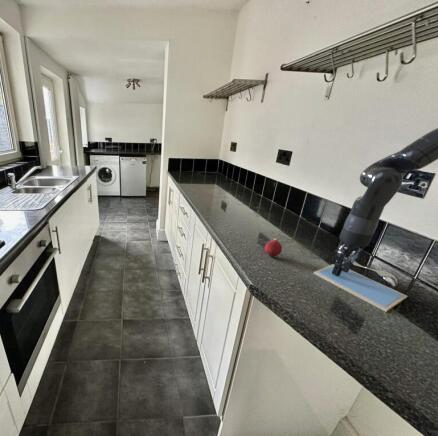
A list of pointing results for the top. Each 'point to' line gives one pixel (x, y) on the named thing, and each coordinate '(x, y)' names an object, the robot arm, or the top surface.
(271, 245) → the onion
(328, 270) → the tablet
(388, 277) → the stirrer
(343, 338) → the top surface
